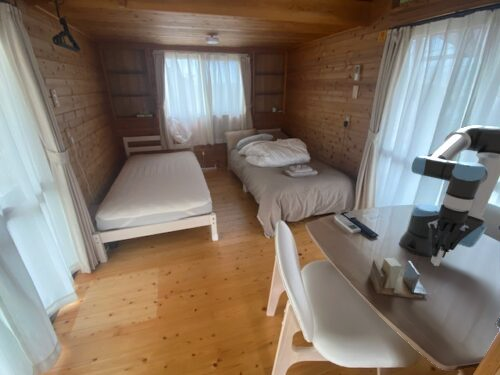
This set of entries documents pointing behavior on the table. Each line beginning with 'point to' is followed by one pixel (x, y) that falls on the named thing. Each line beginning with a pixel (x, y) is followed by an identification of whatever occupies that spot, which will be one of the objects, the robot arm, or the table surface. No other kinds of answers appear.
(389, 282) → the box
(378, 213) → the table surface
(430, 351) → the table surface
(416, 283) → the bookend
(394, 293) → the rack
